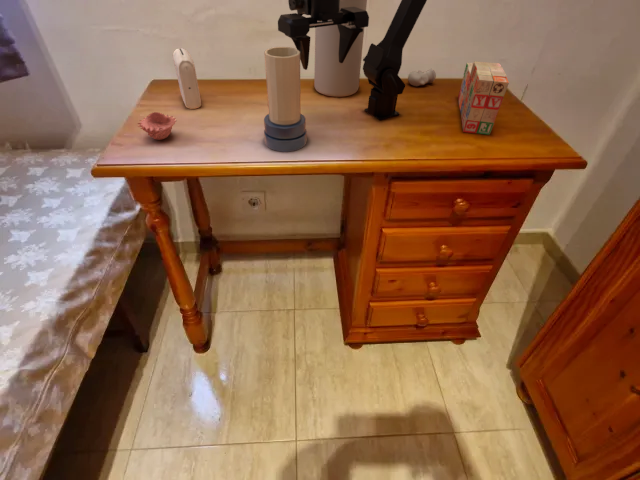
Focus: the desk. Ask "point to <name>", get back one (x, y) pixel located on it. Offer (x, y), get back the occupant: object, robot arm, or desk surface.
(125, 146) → the desk surface
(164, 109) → the desk surface
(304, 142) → the round ridged metallic base
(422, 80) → the smooth white sculpture
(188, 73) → the photo printer
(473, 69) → the stack of blocks
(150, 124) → the pink clay bowl
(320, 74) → the cylinder vase
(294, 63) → the cup
